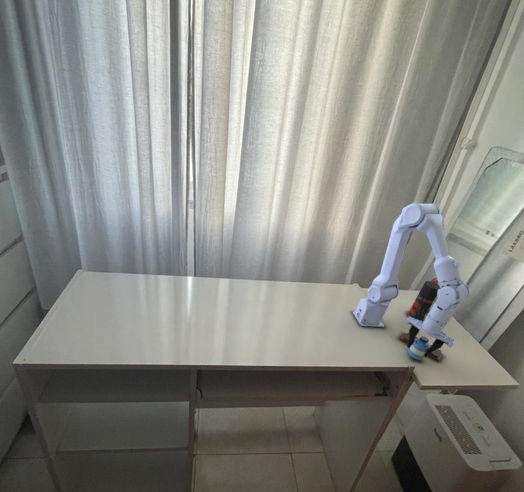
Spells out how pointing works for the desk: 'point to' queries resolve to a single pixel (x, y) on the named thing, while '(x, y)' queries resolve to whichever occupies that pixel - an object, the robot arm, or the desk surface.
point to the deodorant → (424, 300)
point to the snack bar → (434, 354)
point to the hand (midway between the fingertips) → (417, 350)
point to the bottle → (419, 348)
